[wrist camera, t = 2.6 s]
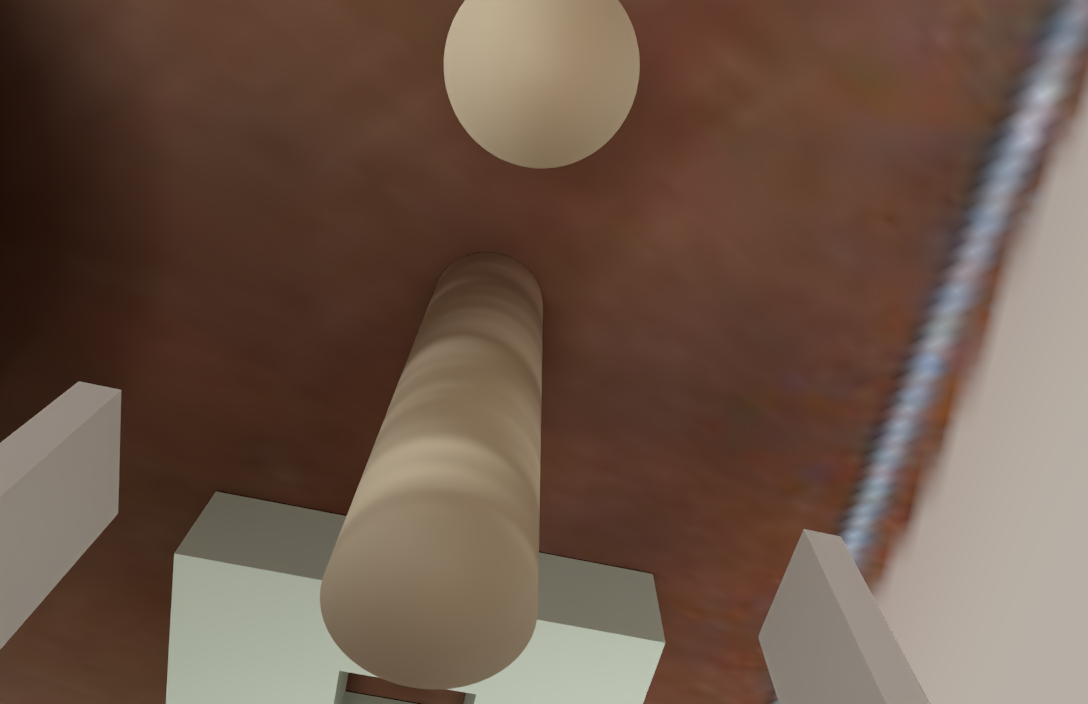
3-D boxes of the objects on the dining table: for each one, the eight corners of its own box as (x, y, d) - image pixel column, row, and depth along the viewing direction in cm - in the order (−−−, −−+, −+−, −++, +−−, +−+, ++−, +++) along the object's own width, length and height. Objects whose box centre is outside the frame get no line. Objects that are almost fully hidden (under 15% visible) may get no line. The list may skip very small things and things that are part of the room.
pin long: (424, 343, 26) (308, 669, 14) (443, 241, 25) (333, 497, 12) (529, 365, 27) (512, 704, 14) (553, 265, 25) (560, 540, 13)
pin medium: (470, 92, 23) (428, 144, 15) (494, -40, 22) (463, -62, 14) (589, 120, 24) (611, 187, 15) (620, -9, 22) (663, -11, 14)
